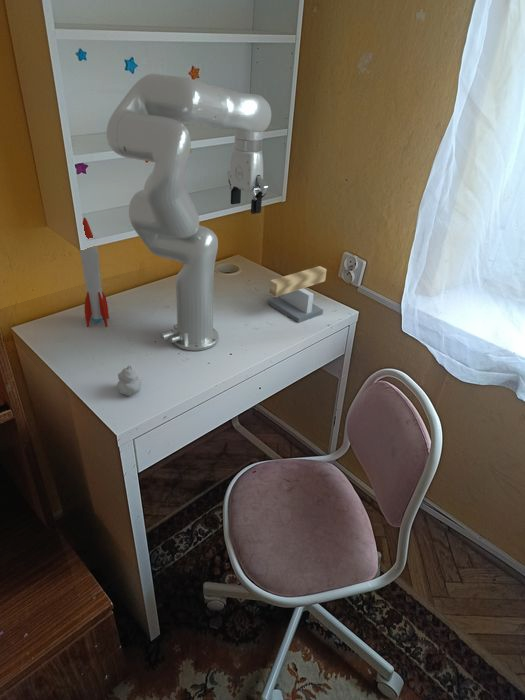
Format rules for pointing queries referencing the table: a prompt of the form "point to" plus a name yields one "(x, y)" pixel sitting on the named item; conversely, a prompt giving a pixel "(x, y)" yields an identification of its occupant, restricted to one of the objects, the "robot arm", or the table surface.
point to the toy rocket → (93, 283)
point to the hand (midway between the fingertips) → (245, 208)
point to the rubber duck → (128, 381)
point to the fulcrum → (297, 305)
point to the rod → (297, 281)
